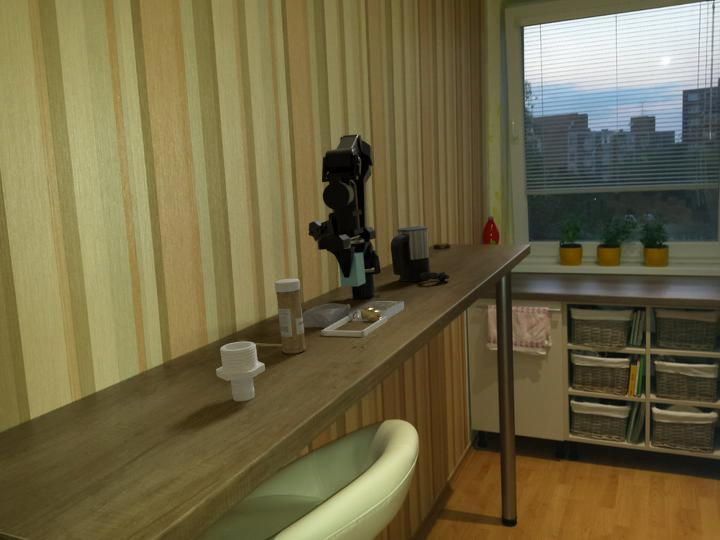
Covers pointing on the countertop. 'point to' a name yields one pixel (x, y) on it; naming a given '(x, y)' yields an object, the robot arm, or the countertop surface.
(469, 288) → the countertop surface
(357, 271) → the mint green brick
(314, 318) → the stone block
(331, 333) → the chip tray
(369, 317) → the chip
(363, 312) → the chip
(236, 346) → the pipe fitting
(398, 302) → the channel
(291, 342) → the sprinkles bottle
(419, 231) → the milk frother
